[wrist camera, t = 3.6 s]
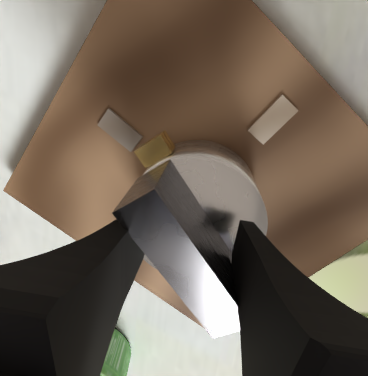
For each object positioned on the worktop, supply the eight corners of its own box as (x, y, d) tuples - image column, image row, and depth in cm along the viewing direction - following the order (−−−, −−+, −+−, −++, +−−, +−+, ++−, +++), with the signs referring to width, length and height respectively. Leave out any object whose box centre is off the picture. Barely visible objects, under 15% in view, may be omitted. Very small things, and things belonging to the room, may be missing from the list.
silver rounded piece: (275, 215, 15) (317, 307, 9) (180, 256, 17) (163, 353, 11) (211, 98, 13) (210, 118, 7) (110, 162, 15) (40, 222, 9)
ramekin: (45, 308, 24) (12, 353, 20) (134, 318, 23) (118, 368, 19) (60, 363, 28) (35, 411, 24) (138, 374, 27) (125, 425, 23)
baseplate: (413, 186, 15) (436, 198, 14) (215, 320, 22) (216, 338, 21) (166, -78, 11) (159, -102, 10) (18, 182, 18) (0, 191, 17)
